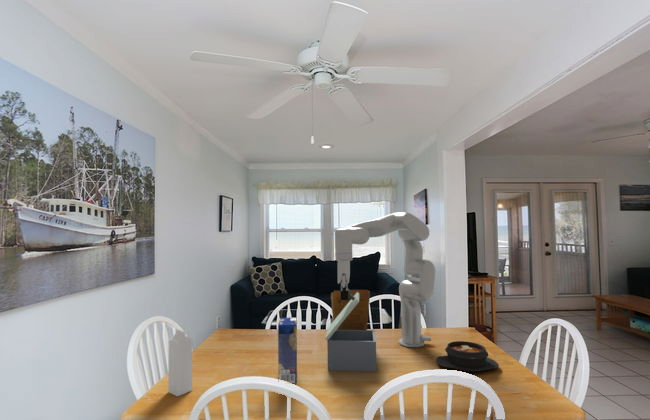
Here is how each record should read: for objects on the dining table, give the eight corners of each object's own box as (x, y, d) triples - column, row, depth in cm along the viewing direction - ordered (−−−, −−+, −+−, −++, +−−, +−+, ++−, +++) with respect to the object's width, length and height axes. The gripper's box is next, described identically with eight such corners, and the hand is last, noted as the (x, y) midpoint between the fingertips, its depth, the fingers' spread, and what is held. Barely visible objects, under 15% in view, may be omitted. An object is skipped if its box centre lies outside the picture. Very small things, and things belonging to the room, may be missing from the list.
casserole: (441, 375, 145) (441, 354, 146) (431, 358, 164) (431, 339, 164) (506, 376, 144) (506, 355, 144) (489, 359, 162) (488, 339, 162)
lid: (359, 293, 167) (347, 283, 168) (359, 301, 151) (345, 290, 151) (330, 328, 168) (318, 318, 169) (327, 340, 151) (314, 329, 152)
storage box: (374, 357, 165) (374, 330, 166) (376, 371, 149) (375, 341, 150) (330, 356, 167) (330, 329, 168) (327, 370, 151) (327, 340, 152)
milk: (183, 386, 138) (183, 327, 139) (192, 390, 134) (192, 329, 135) (167, 392, 133) (168, 330, 134) (177, 397, 129) (177, 333, 130)
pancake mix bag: (370, 349, 175) (369, 290, 176) (331, 347, 179) (330, 290, 180) (371, 344, 182) (370, 288, 183) (333, 343, 185) (332, 287, 186)
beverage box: (297, 371, 150) (296, 317, 151) (296, 382, 140) (296, 324, 140) (280, 371, 150) (280, 317, 151) (278, 383, 139) (278, 325, 140)
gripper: (336, 255, 169) (337, 294, 168) (334, 258, 152) (335, 302, 151) (352, 254, 168) (353, 294, 168) (352, 258, 151) (353, 302, 151)
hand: (344, 298), depth 160 cm, fingers closed on lid, 5 cm apart
